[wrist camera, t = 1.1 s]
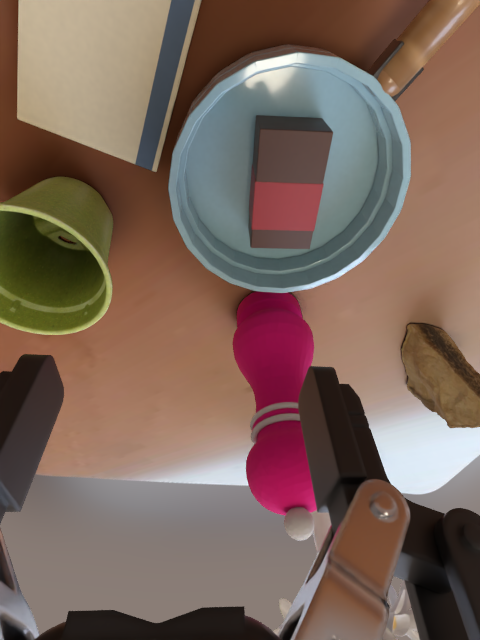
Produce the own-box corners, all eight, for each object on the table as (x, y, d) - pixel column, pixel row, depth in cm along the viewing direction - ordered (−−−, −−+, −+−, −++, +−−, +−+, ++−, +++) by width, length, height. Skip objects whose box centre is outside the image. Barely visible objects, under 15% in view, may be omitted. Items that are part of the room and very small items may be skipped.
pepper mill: (307, 332, 38) (362, 551, 23) (239, 343, 39) (250, 562, 24) (302, 277, 33) (368, 509, 18) (224, 290, 34) (227, 525, 19)
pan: (218, -11, 20) (218, -11, 17) (436, 111, 24) (467, 128, 21) (151, 228, 29) (143, 256, 26) (317, 284, 34) (327, 314, 31)
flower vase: (361, 471, 60) (423, 684, 42) (250, 472, 59) (264, 693, 40) (387, 429, 52) (481, 675, 33) (259, 429, 50) (281, 685, 32)
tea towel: (28, -318, 14) (21, -329, 13) (244, -165, 16) (245, -169, 16) (20, 116, 24) (16, 119, 23) (157, 169, 26) (156, 172, 26)
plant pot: (8, 126, 24) (-70, 175, 17) (149, 183, 27) (126, 243, 20) (4, 241, 29) (-56, 311, 23) (121, 278, 32) (96, 349, 26)
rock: (446, 408, 44) (515, 365, 37) (430, 461, 39) (507, 422, 31) (372, 352, 47) (423, 301, 39) (346, 394, 41) (400, 344, 34)
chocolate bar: (255, 114, 24) (259, 128, 21) (323, 117, 24) (334, 131, 21) (247, 227, 29) (249, 248, 26) (303, 228, 29) (310, 249, 27)
